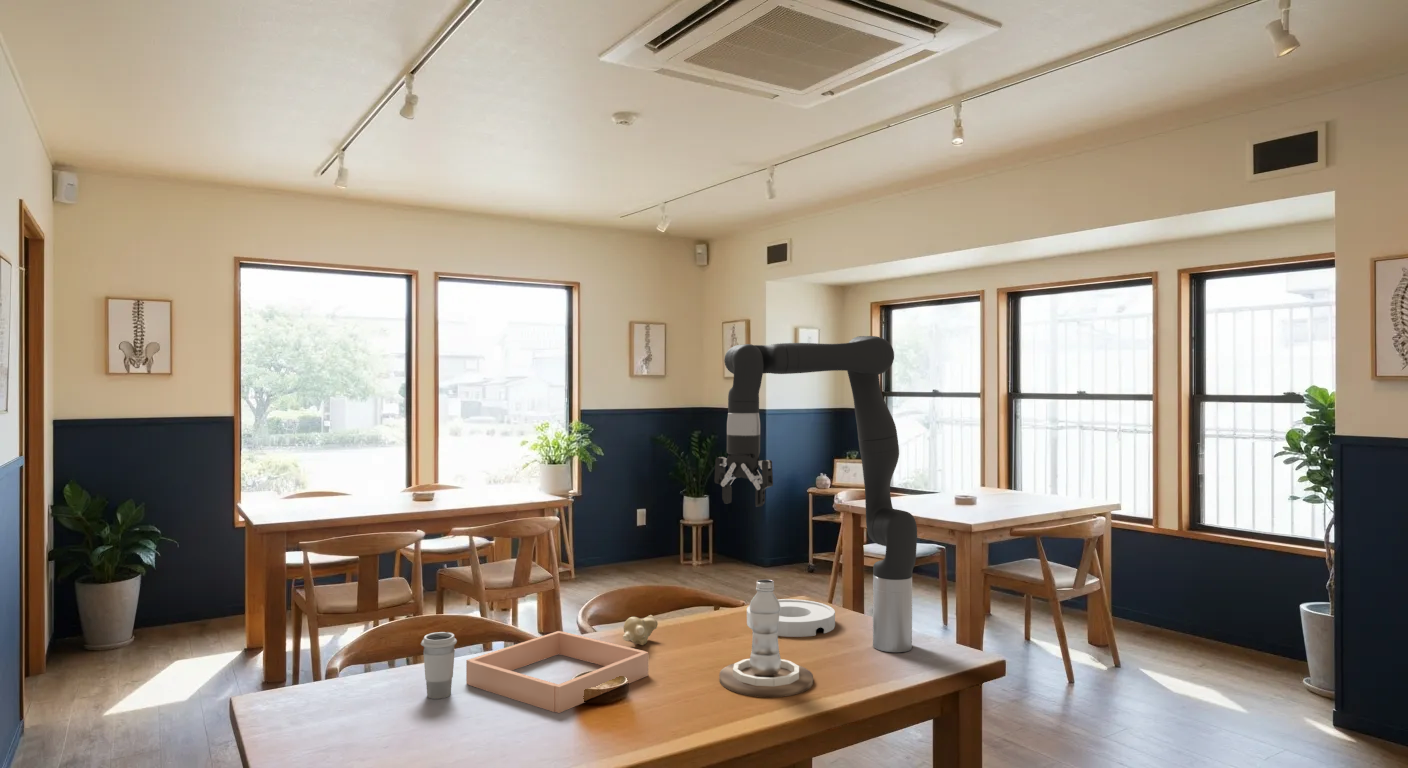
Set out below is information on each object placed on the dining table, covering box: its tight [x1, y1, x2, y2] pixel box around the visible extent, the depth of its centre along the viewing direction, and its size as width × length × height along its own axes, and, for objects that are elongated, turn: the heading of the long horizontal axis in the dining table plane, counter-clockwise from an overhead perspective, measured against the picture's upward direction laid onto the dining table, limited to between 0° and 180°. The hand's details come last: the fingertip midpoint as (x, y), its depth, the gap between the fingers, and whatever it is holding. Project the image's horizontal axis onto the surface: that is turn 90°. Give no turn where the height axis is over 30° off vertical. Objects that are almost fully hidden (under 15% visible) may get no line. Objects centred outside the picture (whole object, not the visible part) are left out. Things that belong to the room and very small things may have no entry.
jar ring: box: [733, 658, 799, 686], centre depth 191 cm, size 14×14×2 cm
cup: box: [420, 631, 458, 700], centre depth 182 cm, size 7×7×12 cm
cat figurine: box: [622, 614, 659, 646], centre depth 216 cm, size 8×7×12 cm
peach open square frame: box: [465, 630, 649, 714], centre depth 191 cm, size 27×27×5 cm
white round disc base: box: [746, 598, 836, 638], centre depth 235 cm, size 23×23×4 cm
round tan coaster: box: [718, 662, 814, 698], centre depth 191 cm, size 20×20×1 cm
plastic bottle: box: [749, 579, 782, 676], centre depth 191 cm, size 6×7×20 cm
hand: (743, 504), depth 202 cm, fingers open, 8 cm apart
